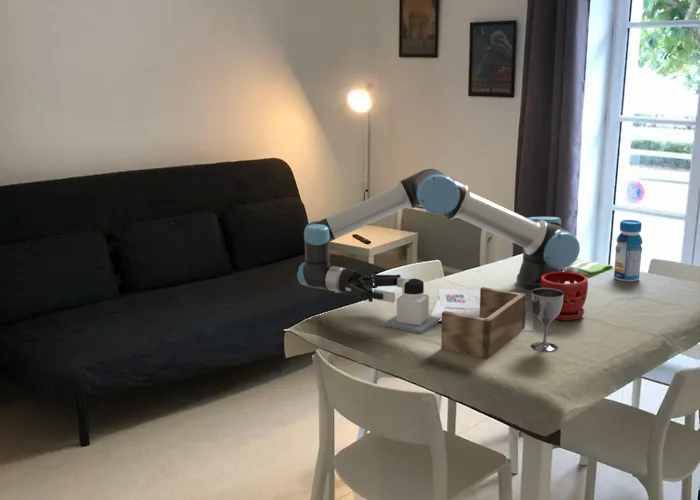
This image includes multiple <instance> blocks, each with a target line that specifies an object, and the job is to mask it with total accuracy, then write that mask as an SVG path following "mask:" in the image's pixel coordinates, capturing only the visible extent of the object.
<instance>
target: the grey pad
mask: <svg viewBox="0 0 700 500" xmlns="http://www.w3.org/2000/svg"><path fill="white" fill-rule="evenodd" d="M440 319H441V320H442V317H438V316H431V315H428V319H427V320H425V321H424V322H423V323H422V324H421V325H412V324H406V323H399V322H397V315H396V316H394V317H391V318H390V319H388V320H386V321H385V322H383V324H384V327H386V326H388V328H391V327H392V329H396V328H398V329H397V330H401V329H403V330H402V331H405V330H407V332H410V331H412V332H411V333H415V332H416V334H420V333H422V334H423V332H424V333H425V332H427V331H428V330H430V329H432V328H433V327H435V326H436V325H437V323H438V322H439V320H440ZM439 323H440V322H439ZM439 323H438V324H439ZM434 325H435V326H434ZM426 330H427V331H426Z"/></svg>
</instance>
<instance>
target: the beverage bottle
mask: <svg viewBox="0 0 700 500" xmlns="http://www.w3.org/2000/svg"><path fill="white" fill-rule="evenodd" d="M641 231H642V222H641V221H640V220H636V219H622V220H621V221H620V223H619V232H620V233H619V235H618V236H617V238H616V243H617V244H616V246H615V259H614V260H615V261H614V269H613V270H614V274H613V277H614V279H615V280H617V281H621V282H632V283H633V282H637V281H638V280H639V279H640V271H641V262H642V252H643V247H642V244H643V239H642V237H641V234H640V233H641Z"/></svg>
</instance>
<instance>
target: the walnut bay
mask: <svg viewBox="0 0 700 500" xmlns="http://www.w3.org/2000/svg"><path fill="white" fill-rule="evenodd" d="M479 291H480V294H479V295H480V296H479V316H475V315H474V316H473V315H470V314H469V315H468V314H463V313H458V312H453V311H446V310H443V311H442V312H441V339H440V340H441V342H440V343H441V345H440V346H441V347H440V348H442V349H441V350H445V349H447V350H446V351H450V350H452V351H451V352H454V351H457V352H456V353H459V352H461V353H460V354H463V353H466V354H465V355H468V354H469V356H473V357H479V358H483V359H489V358H490V357H492V356H493V355H494V354H495V353H497V352H498V351H499V350H501V348H502V347H503V346H505V345H506V344H507V343H509V342H510V341H511V340H512V339H513V338H514V337H516V336H517V335H518V334H520V331H521V330H522V329H523V330H524V329H526V327H525V325H526V303H527V293H522V292H515V291H509V290H503V289H496V288H491V287H485V286H484V287H483V286H482V287H480V289H479ZM523 330H522V331H523ZM522 331H521V332H522Z"/></svg>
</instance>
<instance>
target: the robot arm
mask: <svg viewBox="0 0 700 500" xmlns="http://www.w3.org/2000/svg"><path fill="white" fill-rule="evenodd" d="M420 206H421V207H422V208H423V209H424V210H425V211H426V212H427V213H430V214H433V215H436V216H437V215H439V216H441V217H443V218H445V219H449V220H451V221H452V220H454V219H456V218H458V219H460V220H462V221H464V222H467V223H469V224H471V225H473V226H475V227H478V228H480V229H482V230H484V231H487V232H489V233H491V234H493V235H496V236H498V237H500V238H502V239H504V240H507V241H508V242H511V243H514V244H516V245H518V246H520V247H522V262H521V266H520V268H519V271H518V274H517V275H516V281H515V282H516V285H517V286H518V287H520V288H522V289H525V290H531V291H532V290H534V289H537V288H541V277H542V276H543V275H544V274H547V273H551V272H561V270H560V269H563V268H566V267H568V266H570V265H572V264H573V263H574V262H575V261H576V259H578V258H579V254H580V251H581V249H580V248H581V247H580V242H579V240H578V238H577V237H576V236H575V234H574V233H572V232H570V231H567V230H566V229H565V228H562V219H561V218H560V217H558V216H531V217H525V216H523V215H521V214H519V213H516V212H515V211H512V210H509V209H508V208H506V207H504V206H501V205H499V204H497V203H494V202H493V201H491V200H488V199H486V198H484V197H482V196H479V195H477V194H475V193H473V192H471V191H470V189H469V187H468V185H467V184H465V183H463V182H461V181H459V180H457V179H454V178H452V177H450V176H448V175H447V174H445V173H444V172H442V171H440V170H439V169H435V168H427V169H426V168H425V169H423V170H420V171H418V172H417V173H414V174H411V175H410V176H407V177H406V178H404V179H401V180H399V181H398V183H397V185H396V186H394V187H392V188H390V189H387V190H386V191H383V192H380V193H378V194H376V195H374V196H371V197H369V198H367V199H364V200H363V201H361V202H358V203H356V204H354V205H351V206H350V207H348V208H345V209H343V210H341V211H338V212H336V213H334V214H332V215H329V216H327V217H324V218H323V219H320V220H314V221H310V222H308V224H307V225H306V226H305V228H304V230H303V239H304V254H305V255H304V259H305V260H304V262H301V264H300V265H299V266H298V271H297V273H296V276H297V280H298V282H299V283H300V285H302V286H305V287H308V288H311V289H317V290H318V289H320V290H325V291H331V292H334V293H335V294H338V293H342V294H346V295H352V296H353V297H354V296H355V298H358V299H360V300H362V301H368V302H370V303H372V302H374V301H373V300H377V301H382V302H387V303H395V302H396V293H395V292H393V291H387V290H381V289H377V288H378V287H397V288H400V289H401V288H402V282H403V281H404V280H407V279H408V278H403V277H401V275H400V274H376V273H375V274H374V273H368V274H367V275H361V273H360V272H359V271H358V269H352V268H345V267H342V266H334V265H331V263H330V261H331V259H330V249H331V248H330V247H331V246H330V242H332V241H335V240H337V239H339V238H341V237H343V236H345V235H347V234H350V233H352V232H354V231H357V230H359V229H361V228H364V227H366V226H368V225H371V224H373V223H375V222H377V221H380V220H381V219H384V218H386V217H389V216H390V215H391V216H392V214H395V213H397V212H399V211H402V210H405V209H410V210H412V209H414V208H417V207H420ZM556 283H560V281H557V282H556ZM372 289H373V290H372Z"/></svg>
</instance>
